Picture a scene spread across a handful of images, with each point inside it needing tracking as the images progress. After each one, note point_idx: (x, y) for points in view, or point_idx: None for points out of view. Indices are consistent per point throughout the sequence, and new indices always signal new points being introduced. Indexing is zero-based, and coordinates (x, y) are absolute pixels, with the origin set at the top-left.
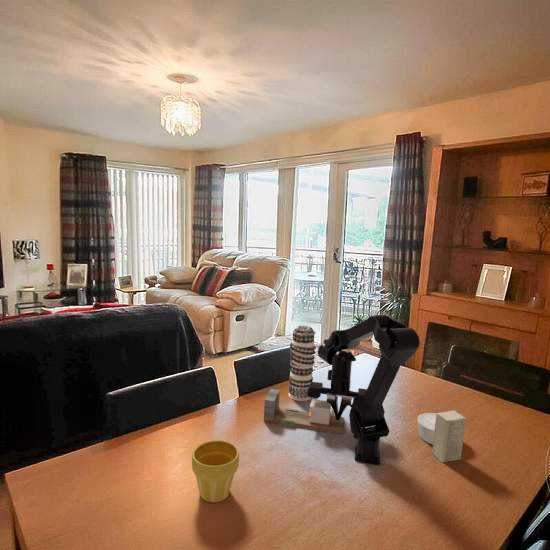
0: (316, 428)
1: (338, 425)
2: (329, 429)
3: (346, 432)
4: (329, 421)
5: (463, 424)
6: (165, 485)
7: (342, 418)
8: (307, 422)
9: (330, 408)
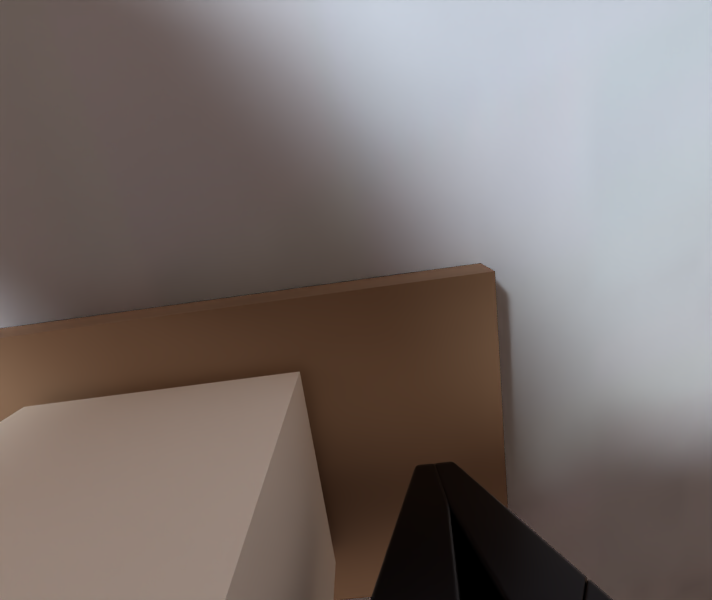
0: None
1: None
2: (359, 586)
3: (537, 503)
4: (320, 459)
5: None
6: None
7: (477, 309)
8: None
9: (280, 558)
